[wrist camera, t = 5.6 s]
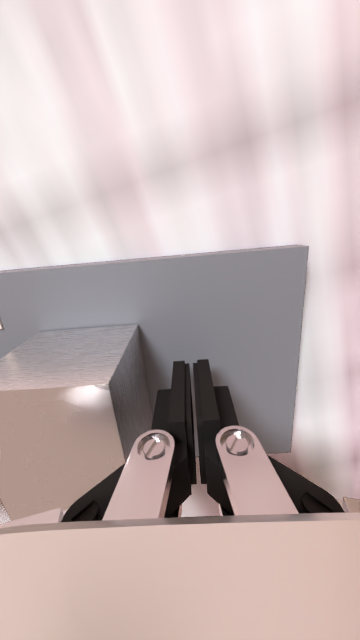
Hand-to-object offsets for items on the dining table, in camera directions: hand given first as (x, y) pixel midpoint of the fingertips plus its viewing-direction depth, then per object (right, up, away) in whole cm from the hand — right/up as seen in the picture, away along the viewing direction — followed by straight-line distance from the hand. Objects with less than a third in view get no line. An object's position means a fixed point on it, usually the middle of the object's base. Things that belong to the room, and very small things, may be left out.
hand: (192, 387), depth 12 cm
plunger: (-8, 0, +2) cm, 8 cm away
